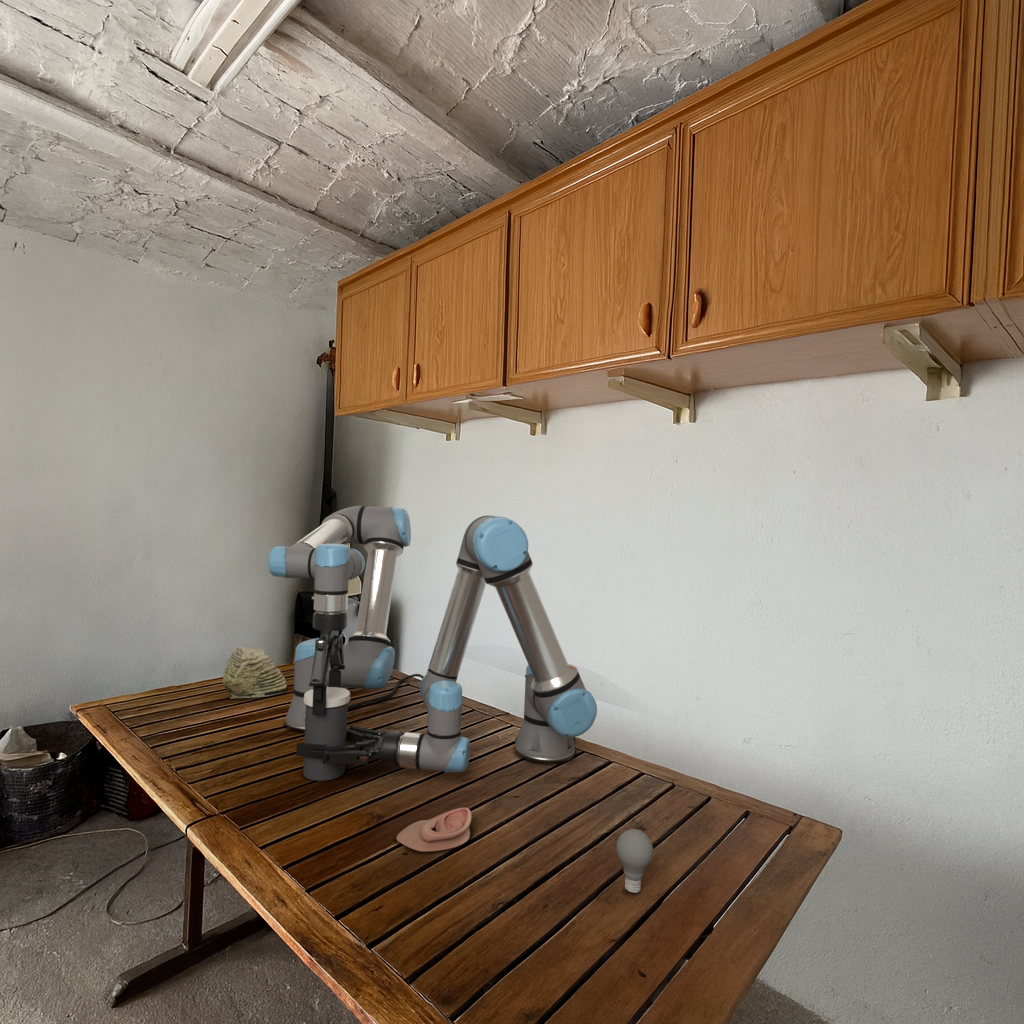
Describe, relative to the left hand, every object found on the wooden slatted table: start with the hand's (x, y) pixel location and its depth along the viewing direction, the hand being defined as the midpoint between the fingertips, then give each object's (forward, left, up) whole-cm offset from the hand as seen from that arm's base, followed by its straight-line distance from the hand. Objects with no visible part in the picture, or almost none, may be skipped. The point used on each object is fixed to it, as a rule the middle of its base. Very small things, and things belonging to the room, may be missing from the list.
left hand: (326, 706), depth 145 cm
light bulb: (-8, +75, -15) cm, 77 cm away
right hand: (+2, -4, -8) cm, 10 cm away
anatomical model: (+2, +38, -15) cm, 41 cm away
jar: (0, 0, -15) cm, 15 cm away
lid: (0, 0, +3) cm, 3 cm away
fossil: (-18, -62, -15) cm, 66 cm away
